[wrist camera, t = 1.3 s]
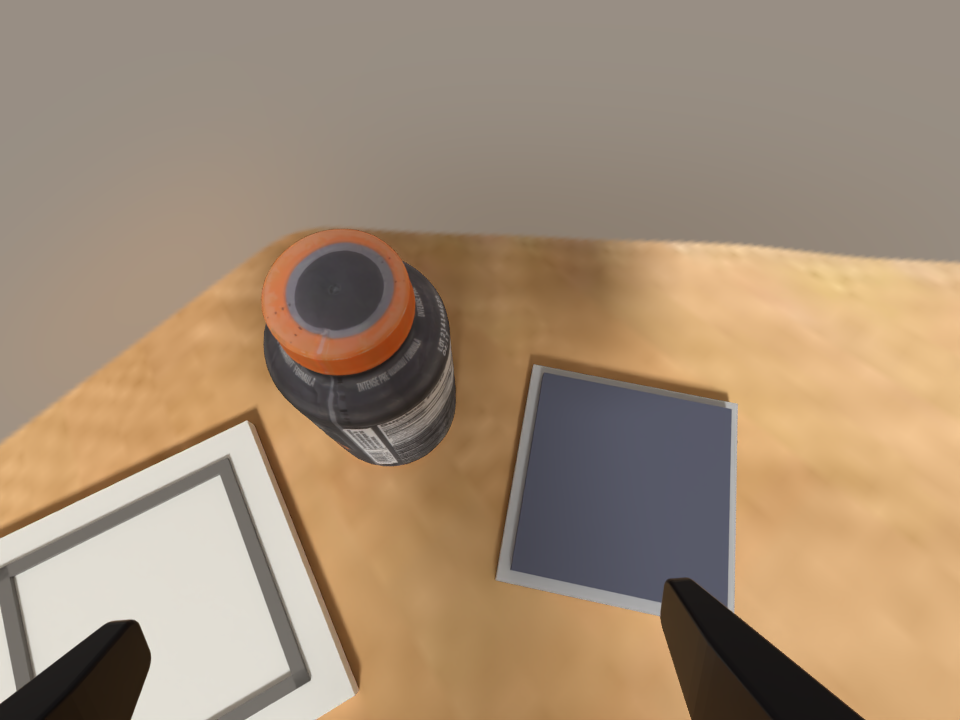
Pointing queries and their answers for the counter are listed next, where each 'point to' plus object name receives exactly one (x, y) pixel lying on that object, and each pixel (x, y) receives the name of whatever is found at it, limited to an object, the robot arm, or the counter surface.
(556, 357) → the counter surface
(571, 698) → the counter surface
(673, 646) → the robot arm
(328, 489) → the counter surface
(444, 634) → the counter surface
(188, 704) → the board
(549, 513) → the ink pad
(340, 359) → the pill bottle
